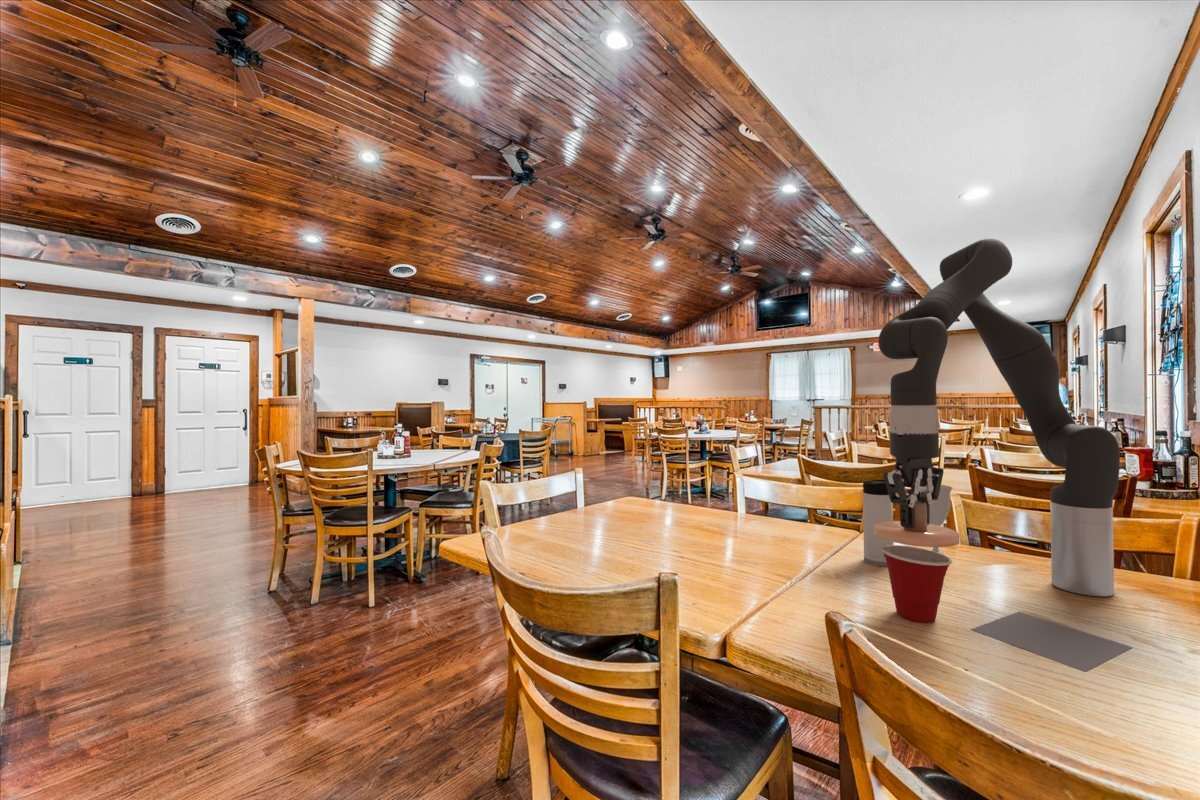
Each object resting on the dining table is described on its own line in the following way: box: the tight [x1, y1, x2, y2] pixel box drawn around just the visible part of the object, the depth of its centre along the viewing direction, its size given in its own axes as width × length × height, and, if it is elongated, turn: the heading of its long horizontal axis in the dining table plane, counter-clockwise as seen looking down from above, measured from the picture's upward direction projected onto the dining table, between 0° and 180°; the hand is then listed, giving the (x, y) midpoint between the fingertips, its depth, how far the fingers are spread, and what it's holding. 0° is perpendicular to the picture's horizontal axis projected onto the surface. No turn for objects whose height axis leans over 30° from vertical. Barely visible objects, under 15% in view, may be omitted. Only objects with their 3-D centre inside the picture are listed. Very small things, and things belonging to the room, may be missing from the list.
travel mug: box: [862, 479, 894, 567], centre depth 122 cm, size 6×7×20 cm
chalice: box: [920, 484, 953, 555], centre depth 122 cm, size 7×7×18 cm
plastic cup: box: [882, 544, 953, 624], centre depth 91 cm, size 11×11×12 cm
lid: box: [874, 500, 960, 548], centre depth 92 cm, size 13×13×6 cm
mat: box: [970, 611, 1134, 673], centre depth 82 cm, size 15×15×1 cm
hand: (914, 525), depth 92 cm, fingers closed on lid, 3 cm apart
